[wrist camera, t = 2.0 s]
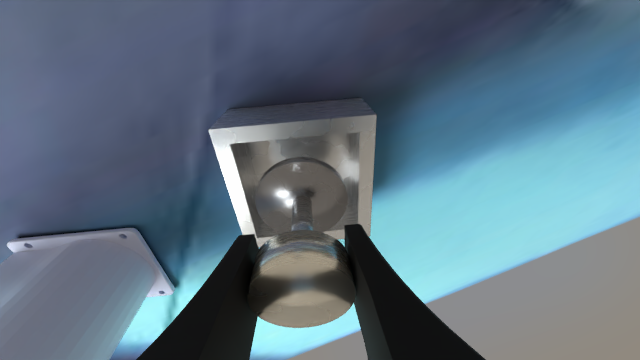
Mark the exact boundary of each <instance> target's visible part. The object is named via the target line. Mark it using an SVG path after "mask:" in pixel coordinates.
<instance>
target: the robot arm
mask: <svg viewBox="0 0 640 360" xmlns="http://www.w3.org/2000/svg"><path fill="white" fill-rule="evenodd" d="M344 231H345V249H346V251H347V253H348V257H349V261H350V266H351V271H352V275H353V280H354V285H355V290H356V296H355V300H354V304H355V308H356V312H357V316H358V320H359V323H360V327H361V331H362V335H363V338H364V342H365V347H366V351H367V355H368V360H485V359H484V358H483V357H482V356H481V355H480V354H478V353H477V352H476V351H475V350H474V349H473V348H471V347H470V346H469V345H468V344H467V343H466V342H465V341H463V340H462V339H461V338H460V337H459V336H458V335H457V334H456V333H454V332H453V331H452V330H451V329H449V327H448V326H447V325H446V324H444V323H443V322H442V321H441V320H440V319H439V318H438V317H437V316H436V315H435V314H434V313H433V312H432V311H431V310H430V309H429V308H428V307H427V306H426V305H425V304H424V303H423V302H422V301H421V300H420V299H419V298H418V297H417V296H416V295H415V294H414V293H413V292H412V290H411V289H410V288H409V287H408V286H407V285H406V284H405V283H404V282H403V280H402V279H401V278H400V277H399V276H398V275H397V273H396V272H395V271H394V270H393V269H392V267H391V266H390V265H389V264H388V262H387V261H386V260H385V259H384V257H383V256H382V255H381V253H380V252H379V251H378V249H377V248H376V247H375V245H374V244H373V242H372V241H371V239H370V238H369V236H368V235H367V233H366V232H365V230H364V229H363V227H362V225H360V224H351V225H344ZM7 246H8V248H9V249H11V250H12V251H13V252H14V254H13V255H11V256H10V257H9V258H7V259H6V260H5V261H3V262H2V263H1V264H0V360H109V359H110V358H111V356H112V354H113V352H114V351H115V349H116V347H117V346H118V344H119V342H120V341H121V339H122V337H123V335H124V334H125V332H126V330H127V329H128V327H129V325H130V324H131V322H132V320H133V318H134V317H135V315H136V313H137V312H138V310H139V308H140V307H141V305H142V303H143V301H144V300H145V298H146V297H154V296H164V295H171V294H173V293H174V291H175V288H174V286H173V284H172V283H171V281H170V280H169V278H168V277H167V275H166V273H165V272H164V270H163V269H162V267H161V266H160V264H159V262H158V261H157V259H156V258H155V256H154V255H153V253H152V251H151V250H150V248H149V247H148V245H147V244H146V242H145V240H144V239H143V237H142V236H141V234H140V233H139V231H138V230H137V229H135V228H122V229H112V230H101V231H91V232H80V233H70V234H60V235H49V236H39V237H29V238H18V239H12V240H11V241H9V242H8V243H7ZM258 250H259V248H258V245H257V241H256V238H255V235H254V234H249V235H239V236H238V237H237V239H236V240H235V242H234V243H233V244H232V246H231V247H230V249H229V250H228V252H227V253H226V254H225V256H224V257H223V259H222V260H221V262H220V263H219V264H218V266H217V267H216V268H215V270H214V271H213V272H212V274H211V275H210V276H209V278H208V279H207V280H206V282H205V283H204V284H203V286H202V287H201V288H200V289H199V291H198V292H197V293H196V294H195V296H194V297H193V298H192V299H191V300H190V302H189V303H188V304H187V305H186V307H185V308H184V309H183V310H182V311H181V312H180V314H179V315H178V316H177V317H176V318H175V319H174V320H173V322H172V323H171V324H170V325H169V326H168V327H167V328H166V329H165V330H164V331H163V333H162V334H161V335H160V336H159V337H158V338H157V339H156V340H155V341H154V342H153V343H152V344H151V345H150V346H149V347H148V348H147V349H146V350H145V351H144V352H143V353H142V354H141V355H140V356H139V357H138V358H137V359H136V360H249V358H250V352H251V347H252V342H253V337H254V332H255V327H256V322H257V317H258V316H257V315H256V314H255V313H254V312H253V311H252V309H251V308H250V306H249V304H248V298H247V295H248V290H249V285H250V280H251V276H252V271H253V266H254V261H255V256H256V254H257V252H258Z"/></svg>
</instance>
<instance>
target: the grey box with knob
mask: <svg viewBox="0 0 640 360" xmlns="http://www.w3.org/2000/svg"><path fill="white" fill-rule="evenodd" d="M376 117H377V114H376V113H375V112H374V111H373V110H372V109H371V108H370V107H369V106H368V105H367V103H366V102H365V101H364V100H363V99H362V98H351V99H340V100H328V101H317V102H306V103H294V104H283V105H272V106H260V107H249V108H238V109H228V110H227V111H226V112H225V113H224V114H223V115H222V116H221V117H220V118H219V119H218V120H217V121H216V122H215V123H214V124H213V125H212V126H211V127H210V128H209V129H208V131H209V134H210V137H211V140H212V143H213V146H214V149H215V152H216V155H217V158H218V161H219V164H220V167H221V170H222V173H223V176H224V179H225V182H226V185H227V188H228V191H229V194H230V197H231V200H232V204H233V207H234V210H235V213H236V216H237V219H238V222H239V225H240V228H241V231H242V234H243V235H249V234H254V235H255V238H256V241H257V245H258V247H261V246H262V245H263V244H264V243H265V242H266V241H268V240H269V239H271V238H272V237H274V236H277V235H279V234H282V233H280V232H277V231H275V230H274V229H272V228H271V227H269V226H268V225H267V224H266V223H265V222H264V221H263V220H262V218H261V217H260V215H259V213H258V211H257V208H256V203H255V197H256V191H257V188H258V185H259V182H260V180H261V178H262V176H263V175H264V173H265V172H266V171H267V170H268V169H269V168H270V167H272V166H273V165H275V164H276V163H278V162H280V161H283V160H285V159H289V158H294V157H310V158H315V159H318V160H321V161H323V162H326V163H327V164H329V165H331V166H332V167H333V168H334V169H335V170H336V171H337V172H338V173H339V174H340V176H341V177H342V179H343V181H344V184H345V187H346V191H347V195H348V204H347V208H346V211H345V213H344V215H343V217H342V218H341V219H340V221H339V222H338V223H337V224H336V225H334V226H333V227H332V228H330V229H329V230H327V231H325V232H323V233H325V234H328V235H330V236H332V237H334V238H335V239H345V231H344V225H351V224H360V225H362V227H363V229H364V230H365V232H366V233H367V235H368V236H370V228H371V209H372V191H373V172H374V154H375V136H376Z"/></svg>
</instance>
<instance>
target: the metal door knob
mask: <svg viewBox="0 0 640 360" xmlns="http://www.w3.org/2000/svg"><path fill="white" fill-rule="evenodd" d="M255 203H256V208H257V211H258V213H259V215H260V217H261V218H262V220H263V221H264V222H265V223H266V224H267V225H268V226H269V227H271V228H272V229H274V230H275V231H277V232H280V233H282V234H279V235H277V236H274V237H272V238H271V239H269V240H268V241H266V242H265V243H264V244H263V245H262V246H261V247H260V249H259V250H258V252H257V254H256V256H255V261H254V266H253V271H252V276H251V280H250V285H249V290H248V295H247V298H248V304H249V306H250V308H251V309H252V311H253V312H254V313H255V314H256V315H257V316H259V317H260V318H261V319H263V320H265V321H267V322H269V323H272V324H275V325H279V326H284V327H292V328H304V327H313V326H318V325H322V324H325V323H328V322H331V321H333V320H335V319H337V318H339V317H340V316H342V315H343V314H344V313H346V312H347V311H348V310H349V309H350V307H351V306H352V304H353V303H354V300H355V296H356V290H355V285H354V280H353V275H352V271H351V266H350V261H349V257H348V253H347V251H346V249H345V247H344V246H343V245H342V244H341V243H340V242H339V241H338V240H337V239H335V238H334V237H332V236H330V235H328V234H325V233H323V232H325V231H327V230H329V229H330V228H332V227H333V226H334V225H336V224H337V223H338V222H339V221H340V219H341V218H342V217H343V215H344V213H345V211H346V208H347V204H348V195H347V191H346V187H345V184H344V181H343V179H342V177H341V176H340V174H339V173H338V172H337V171H336V170H335V169H334V168H333V167H332V166H331V165H329V164H327V163H326V162H323V161H321V160H318V159H315V158H310V157H294V158H289V159H285V160H283V161H280V162H278V163H276V164H275V165H273V166H272V167H270V168H269V169H268V170H267V171H266V172H265V173H264V175H263V176H262V178H261V180H260V182H259V185H258V188H257V191H256V197H255Z"/></svg>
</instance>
